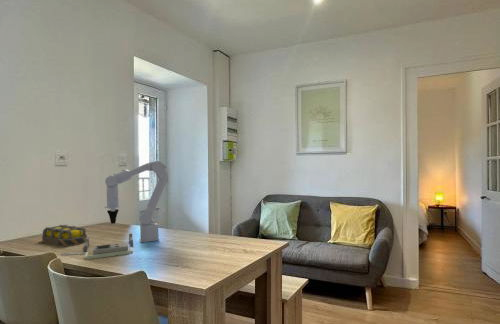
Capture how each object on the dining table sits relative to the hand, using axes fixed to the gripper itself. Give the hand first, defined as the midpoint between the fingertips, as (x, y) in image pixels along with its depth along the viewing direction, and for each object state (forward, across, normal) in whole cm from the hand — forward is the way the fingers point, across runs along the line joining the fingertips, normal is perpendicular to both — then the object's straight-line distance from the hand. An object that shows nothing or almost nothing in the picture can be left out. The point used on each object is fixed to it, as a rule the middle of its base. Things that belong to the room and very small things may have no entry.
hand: (113, 223), depth 171 cm
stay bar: (+11, +16, -17) cm, 26 cm away
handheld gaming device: (+11, +23, -1) cm, 25 cm away
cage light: (+11, -20, -25) cm, 34 cm away
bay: (+10, +24, -2) cm, 27 cm away
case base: (+10, +8, -2) cm, 13 cm away
